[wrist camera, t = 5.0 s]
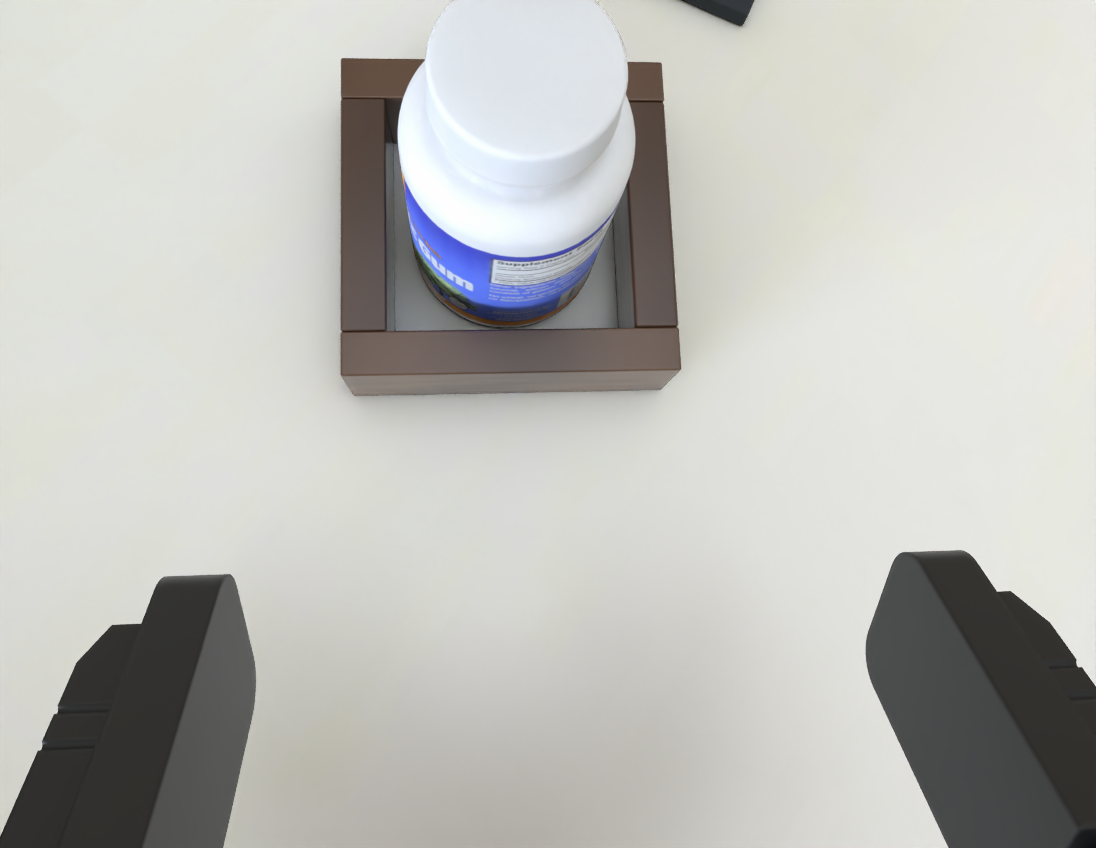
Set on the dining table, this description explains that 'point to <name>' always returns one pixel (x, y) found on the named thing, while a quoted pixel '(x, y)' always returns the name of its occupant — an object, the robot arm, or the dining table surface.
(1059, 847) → the robot arm
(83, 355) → the dining table surface
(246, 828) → the dining table surface
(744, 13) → the rubber mat
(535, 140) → the pill bottle
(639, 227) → the walnut holder
